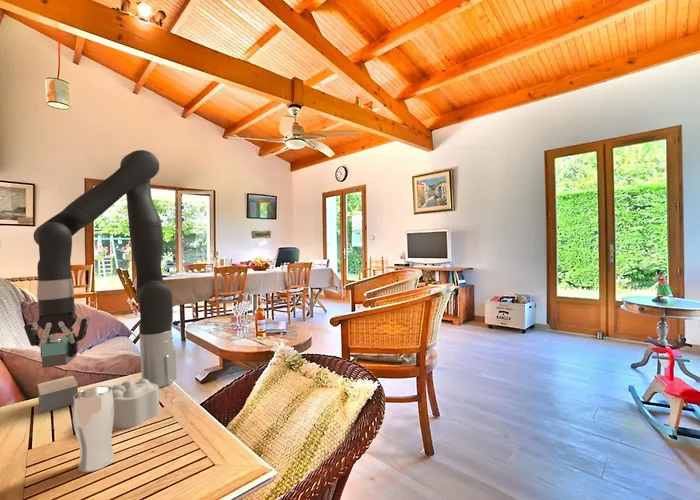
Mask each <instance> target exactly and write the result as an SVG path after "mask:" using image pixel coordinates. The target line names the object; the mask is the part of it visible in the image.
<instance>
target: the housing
mask: <svg viewBox="0 0 700 500" xmlns="http://www.w3.org/2000/svg"><path fill="white" fill-rule="evenodd" d="M69 344H70V342H69V340H68V338H67V337H66V336H65V335H64V336H57V337H51V338H50V340H49V341H47V342H46V343H44V344H42V345H41V349H40V354H41V353H42V358H41V364H42V365H41V368H43V369H45V368H52V367H53V368H54V367H60V366H67V365H68V364H69V363H70V362H71V361H73V360H74V359H75V358H77V354H78V353H77V354H75V356H74V357H70V349H69Z"/></svg>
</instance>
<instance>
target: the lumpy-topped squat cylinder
mask: <svg viewBox="0 0 700 500" xmlns="http://www.w3.org/2000/svg"><path fill="white" fill-rule="evenodd" d="M111 387H112V392H113V398H114V422H113V428H117V429H123V430H124V429H131V428H136V427H137V426H140V425H142V424H143V423H145V422H147V421H148V420H151V419H153V418H154V417H157V416H158V415H160V413H159V412H161V411H160V410H161V409H160V396H159V393H160V392H159V390H160V389H159V387H158V385H156V384H153V383H150V382H149V381H148V380H147V379H142V378H141V379H139V380H138V381H135V382H134V381H132V380H125V381H124V382H122V383H119V384H115V385H114V386H111ZM156 415H157V416H156Z"/></svg>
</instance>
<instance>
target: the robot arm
mask: <svg viewBox="0 0 700 500" xmlns="http://www.w3.org/2000/svg"><path fill="white" fill-rule="evenodd" d="M159 171H160V162H159V160H158V157H157V156H156V155H155V154H154V153H152V152H150V151H148V150H144V149H137V150H134V151H132V152H130V153H128V154H126V155H124V156H123V158H121V160H120V165H119V168H118V169H117V170H116V171H114V172H113V173H112V174H111V175H109V176H108V177H107V178H105V179H104V180H102V181H101V182H99V183H97V184H96V185H94V186H93V187H92V188H90V189H88V190H87V191H85V192H84V193H82V194H81V195H79V196H78V197H77V198H75V199H74V200H73V201H71V202H70V203H69V204H68V205H67V206H66V207H65V208H63V210H61V211H60V212H58V213H57V214H55V215H54V216H53V217H51V218H49V219H47V220H45V222H43V223H42V224H41V225H39V226H38V227H37V228H36V229H35V230H34V232H33V240H34V242H35V243H36V245H38V253H39V255H38V256H39V260H38V262H37V287H36V288H37V289H36V290H37V291H36V292H37V293H36V297H37V307H38V309H37V310H38V319H37V320H36V321H34V322H28V323H26V324H25V325H24V326H23V329H24V331H25V333H26V337H27V339H28V342H29V344H30V346H31V347H34V346H35V347H38V348H39V349H40V350H41V345H42V344H44V343H46V342H47V341H49V340H50V339H52V336H53V335H55V334H63V335H64V336H66V337H67V338H68V340H69V342H70V344H69V349H70V357H74V356H75V354H78V353H79V349H78V347H79V346H78V342H80V341H82V340H83V339H85V338H86V335H87V331H88V326H89V322H90V317H89V316H86V317H79V316H77V314H76V309H75V290H74V289H75V288H74V284H73V276H72V274H73V273H72V265H71V263H72V262H71V257H72V249H73V248H72V247H73V236H75V234H77V233H78V232H79V231H80V230H83V228H85V227H87V226H89V225H90V224H92V223H93V222H94V221H95V220H96V219H98V218H99V217H101V216H102V215H103V214H104V213H105V212H107V210H109V208H111V207H112V206H114V204H115V203H117V202H118V201H119V200H120V199H121V198H123V196H125V195H126V205H127V206H126V208H127V217H128V218H127V219H128V230H129V239H130V245H131V251H132V257H133V260H134V264H135V270H136V271H135V272H136V294H135V297H136V302H137V303H138V304H139V314H140V319H139V320H140V321H139V327H138V328H139V329H138V330H139V346H140V347H139V349H140V366H141V368H140V371H141V373H140V374H141V379H147V380H148V381H149V382H150V383H153V384H156V385H158V388H161V387H166V386H170V385H171V384H172V383H173V382H174V381H175V380H176V379H177V376H178V375H177V360H176V359H177V358H176V351H175V350H174V349H173V347H174V346H173V331H172V329H173V328H172V324H173V320H174V314H173V312H174V310H173V309H174V307H173V304H174V303H173V294H172V291H171V289H170V287H169V286H167V285H166V284H165V281H164V278H163V273H162V272H163V271H162V256H163V249H164V234H163V226H162V220H161V217H160V215H159V213H158V210H157V208H156V206H155V203H154V201H153V197H152V192H151V191H152V190H151V188H152V187H151V179H153V178H154V177H155V176H157V175H158V172H159ZM75 323H77V326H79V329H78V335H76V331H75V330H74V327H73V326H74V325H75ZM38 326H39V328H40V329H42V330H43V332H42V335H41V337H39V334H38V331H37V330H38ZM40 338H41V339H40ZM40 358H41V359H42V353H41V352H40ZM171 380H172V381H173V382H172V381H171Z"/></svg>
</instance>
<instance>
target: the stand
mask: <svg viewBox="0 0 700 500" xmlns="http://www.w3.org/2000/svg"><path fill="white" fill-rule="evenodd" d="M37 391H38V393H37V395H38V406H39V409H40V412H41V414H45V413H48V412H50V411H54V410H57V409H60V408H65V407H68V406H73V396H74V395H75V394H76V393H78V391H79V390H78V381H77V380H76V378H75V377H74V376H73V375H69V376H67V377H62V378H61V377H60V378H57V379H54V380H48V381H44V382H42V383H37Z"/></svg>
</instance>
